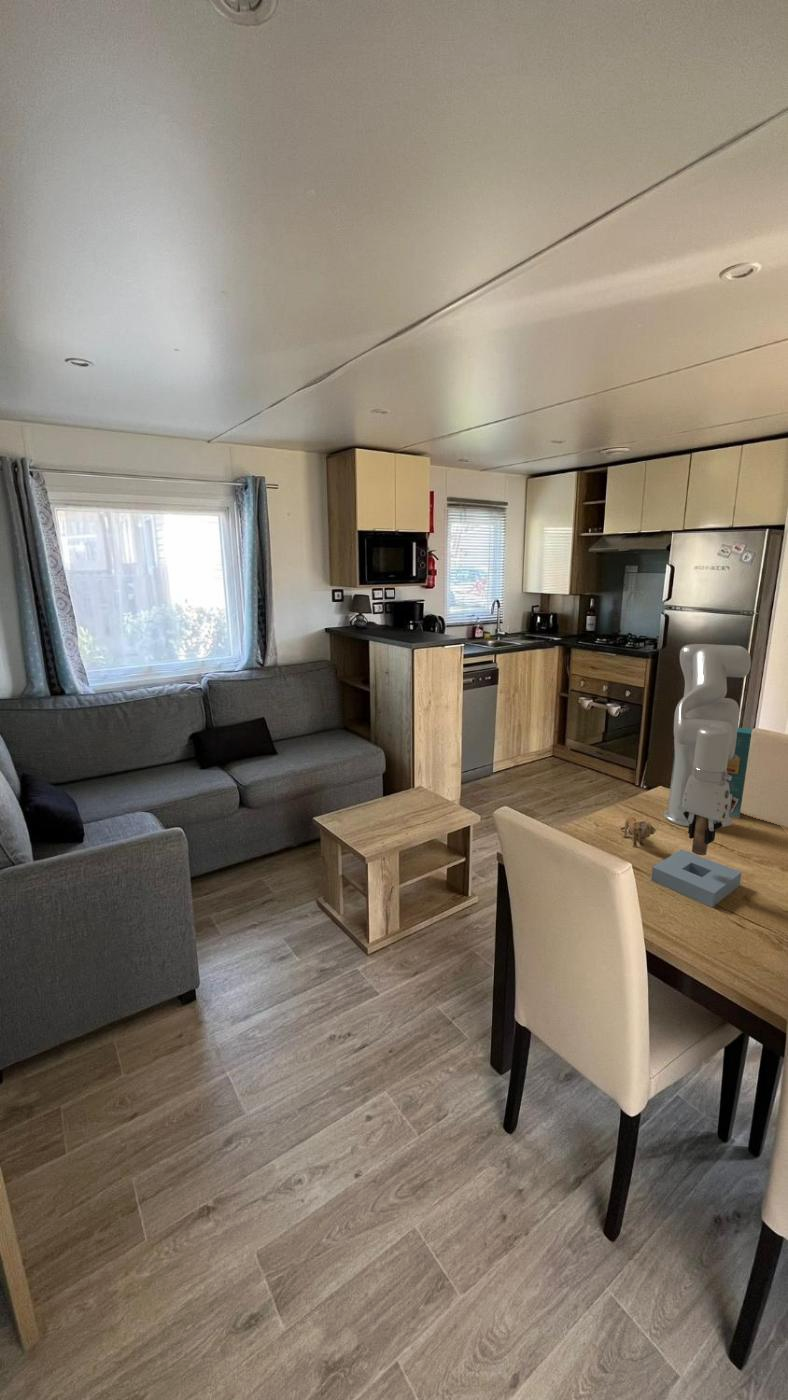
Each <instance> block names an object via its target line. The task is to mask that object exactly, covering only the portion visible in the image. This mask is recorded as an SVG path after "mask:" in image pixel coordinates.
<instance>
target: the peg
mask: <svg viewBox="0 0 788 1400" xmlns="http://www.w3.org/2000/svg"><path fill="white" fill-rule="evenodd" d="M708 827H709V820H708V819H707V818H704V817H702V816H699V815H696V821H695V829H694V837H693V838H692V846H691V847H692V848H691V853H693V854H695V855H698V856H706V855H707V851H708V845H707V844H705V835H706V830H707V829H708Z"/></svg>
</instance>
